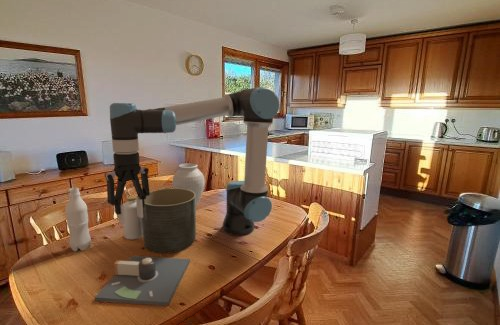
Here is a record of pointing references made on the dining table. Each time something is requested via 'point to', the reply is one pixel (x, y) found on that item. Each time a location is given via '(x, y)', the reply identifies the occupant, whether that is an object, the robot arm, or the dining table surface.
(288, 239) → the dining table surface
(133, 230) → the potion bottle
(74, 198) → the water bottle
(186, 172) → the vase
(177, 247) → the planter
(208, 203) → the dining table surface
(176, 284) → the dial board
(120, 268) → the peg lever
